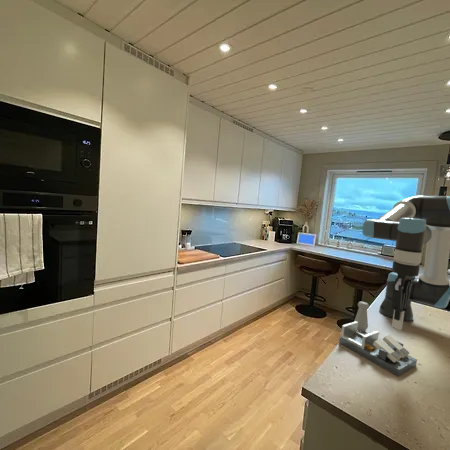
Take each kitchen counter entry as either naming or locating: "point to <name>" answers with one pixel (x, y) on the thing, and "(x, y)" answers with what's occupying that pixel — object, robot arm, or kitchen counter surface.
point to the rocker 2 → (399, 349)
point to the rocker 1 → (390, 352)
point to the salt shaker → (362, 316)
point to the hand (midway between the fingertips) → (396, 327)
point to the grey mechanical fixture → (374, 349)
